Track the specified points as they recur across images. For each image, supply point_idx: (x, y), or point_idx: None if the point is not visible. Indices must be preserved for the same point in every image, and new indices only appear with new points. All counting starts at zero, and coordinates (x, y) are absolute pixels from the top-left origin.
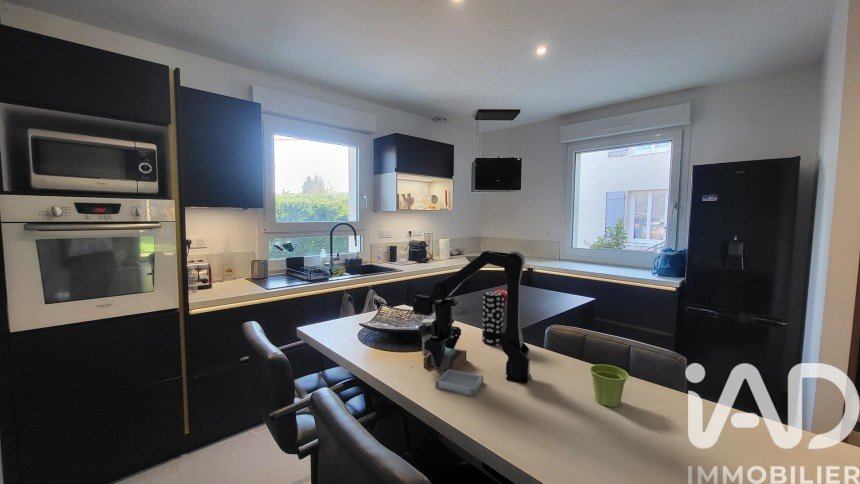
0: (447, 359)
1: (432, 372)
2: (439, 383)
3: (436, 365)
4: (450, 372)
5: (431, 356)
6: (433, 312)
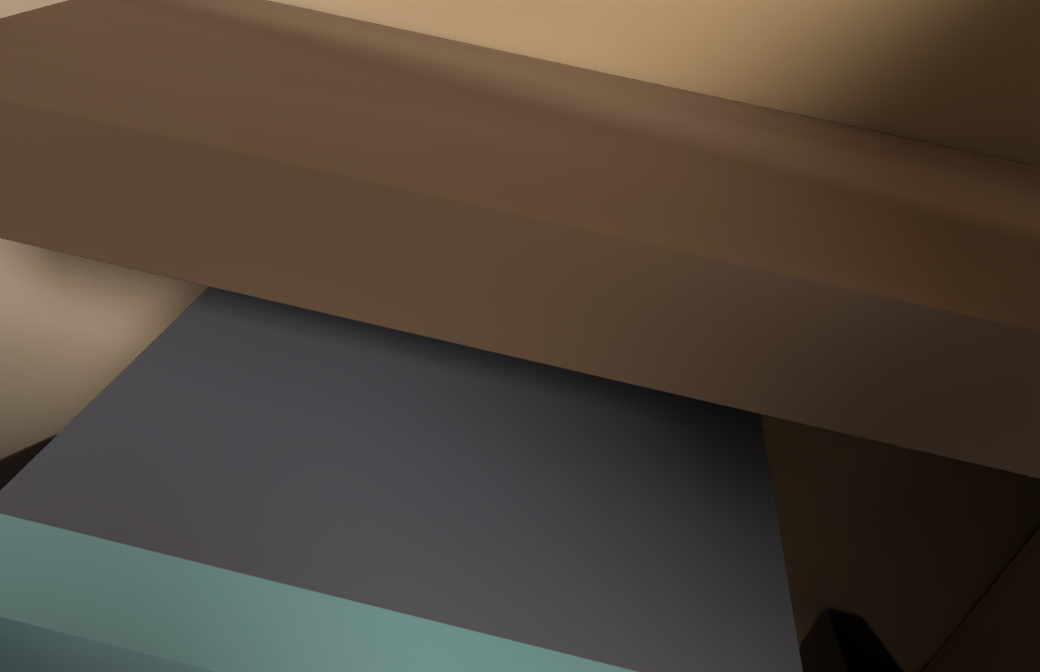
0: None
1: (30, 296)
2: None
3: None
4: None
5: (118, 405)
6: None
